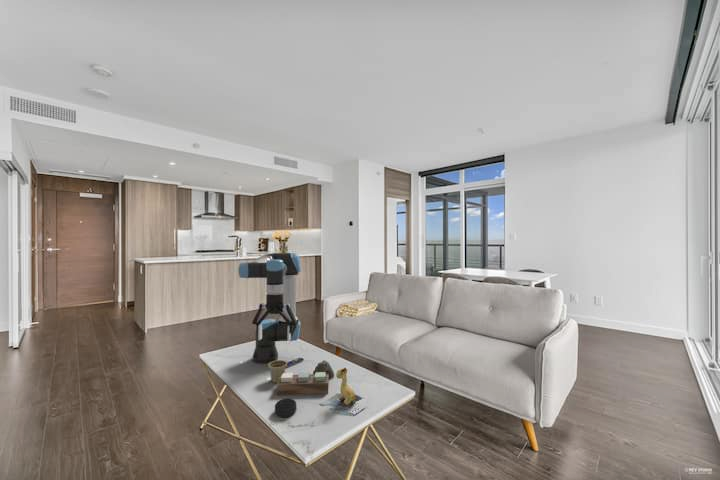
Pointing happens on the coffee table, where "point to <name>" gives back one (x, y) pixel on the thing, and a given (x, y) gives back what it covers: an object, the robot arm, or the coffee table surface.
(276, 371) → the flower pot
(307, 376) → the slate grey key
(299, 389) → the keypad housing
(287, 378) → the cream key
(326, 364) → the fossil
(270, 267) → the robot arm
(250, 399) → the coffee table surface
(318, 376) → the sage green key
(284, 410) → the smart speaker
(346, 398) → the stuffed giraffe
